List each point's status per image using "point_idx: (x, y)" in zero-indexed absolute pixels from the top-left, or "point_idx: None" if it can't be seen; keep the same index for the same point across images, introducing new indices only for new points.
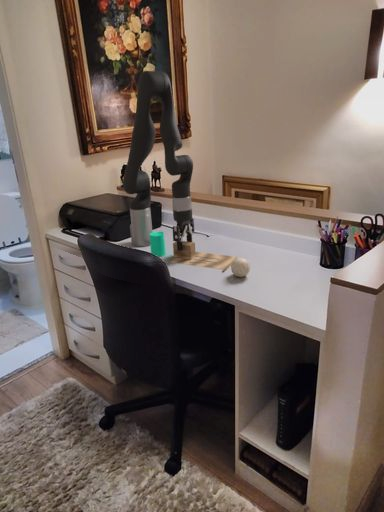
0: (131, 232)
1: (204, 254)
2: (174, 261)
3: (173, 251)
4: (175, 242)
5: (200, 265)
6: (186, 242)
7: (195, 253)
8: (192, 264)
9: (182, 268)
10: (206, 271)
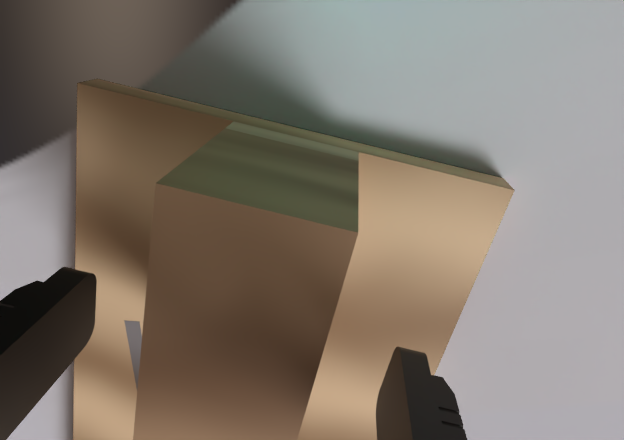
0: None
1: (365, 418)
2: (105, 165)
3: (210, 140)
4: (232, 218)
5: (89, 413)
6: (262, 399)
7: (391, 339)
8: (89, 352)
9: (51, 255)
10: (62, 433)
